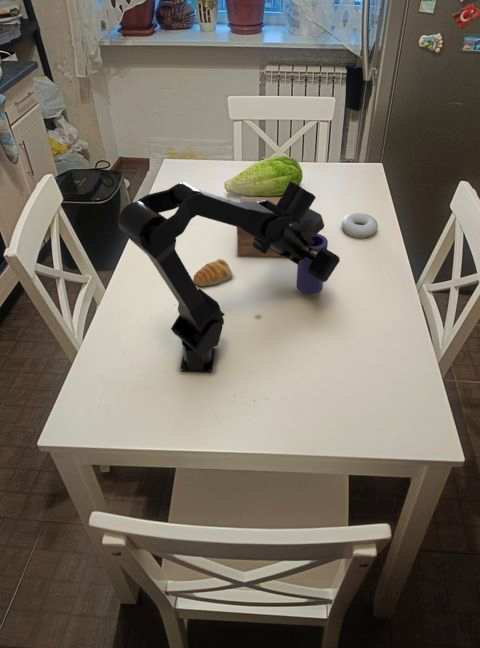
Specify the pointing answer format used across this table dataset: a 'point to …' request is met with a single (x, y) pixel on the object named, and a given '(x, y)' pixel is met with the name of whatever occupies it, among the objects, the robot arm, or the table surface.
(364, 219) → the donut
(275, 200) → the bread box lid
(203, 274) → the pastry
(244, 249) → the bread box
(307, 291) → the purple hollow cylinder
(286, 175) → the lettuce
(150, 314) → the table surface
